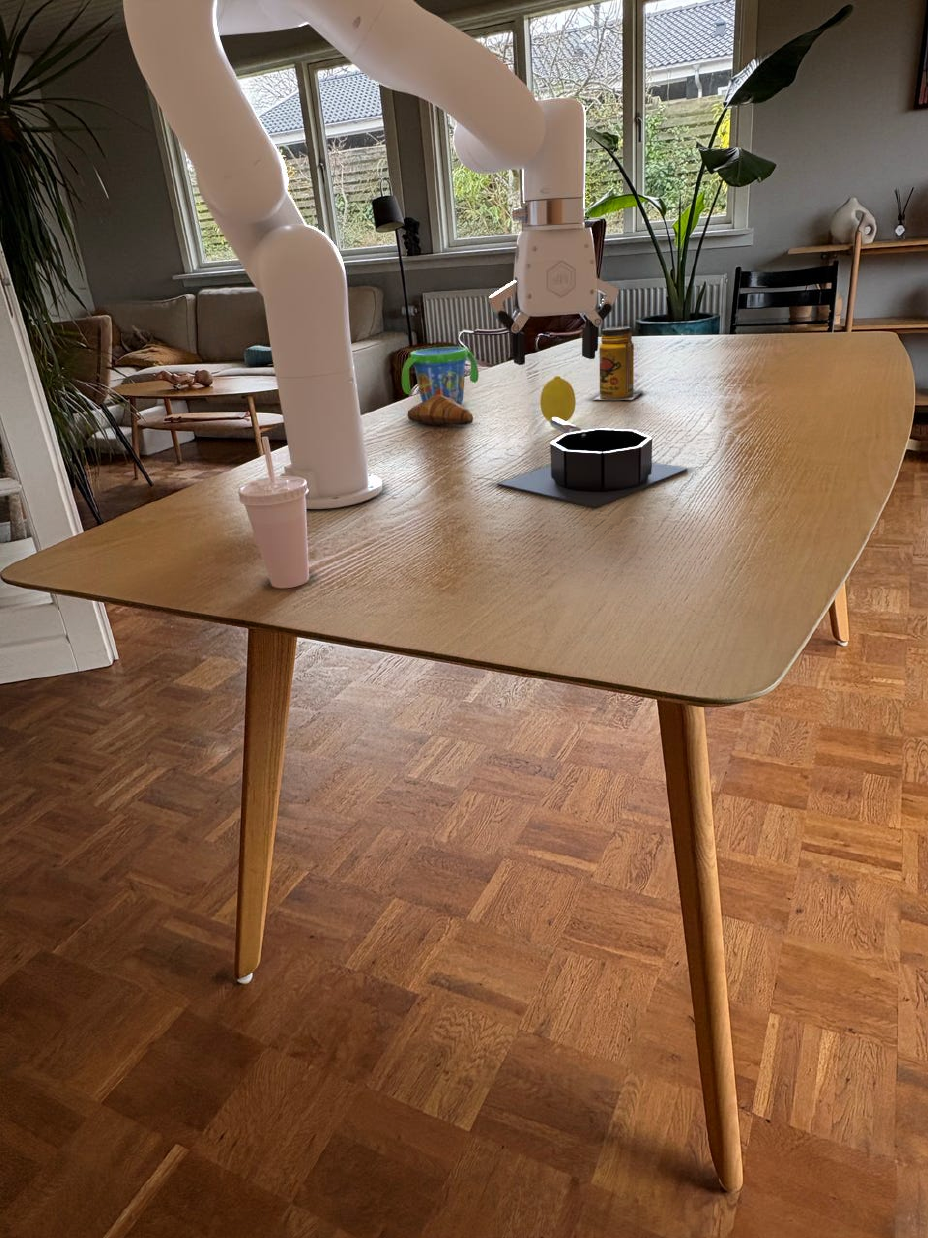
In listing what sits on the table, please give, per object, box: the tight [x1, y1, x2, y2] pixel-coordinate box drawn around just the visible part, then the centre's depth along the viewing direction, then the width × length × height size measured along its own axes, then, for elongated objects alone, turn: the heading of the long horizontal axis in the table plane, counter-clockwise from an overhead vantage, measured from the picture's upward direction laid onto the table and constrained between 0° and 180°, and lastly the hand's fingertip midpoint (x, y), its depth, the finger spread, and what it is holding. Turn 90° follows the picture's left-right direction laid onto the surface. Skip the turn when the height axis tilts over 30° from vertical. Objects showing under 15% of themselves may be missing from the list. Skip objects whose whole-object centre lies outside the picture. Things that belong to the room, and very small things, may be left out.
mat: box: [497, 462, 688, 509], centre depth 102 cm, size 18×16×1 cm
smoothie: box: [237, 436, 310, 589], centre depth 76 cm, size 6×6×14 cm
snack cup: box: [401, 346, 480, 406], centre depth 150 cm, size 16×10×10 cm
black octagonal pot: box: [549, 417, 653, 492], centre depth 104 cm, size 22×12×5 cm, turn 16°
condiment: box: [593, 325, 645, 401], centre depth 145 cm, size 7×8×12 cm
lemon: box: [539, 375, 577, 423], centre depth 128 cm, size 6×6×8 cm
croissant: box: [407, 394, 474, 426], centre depth 138 cm, size 14×7×5 cm, turn 54°
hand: (554, 360), depth 107 cm, fingers open, 9 cm apart
